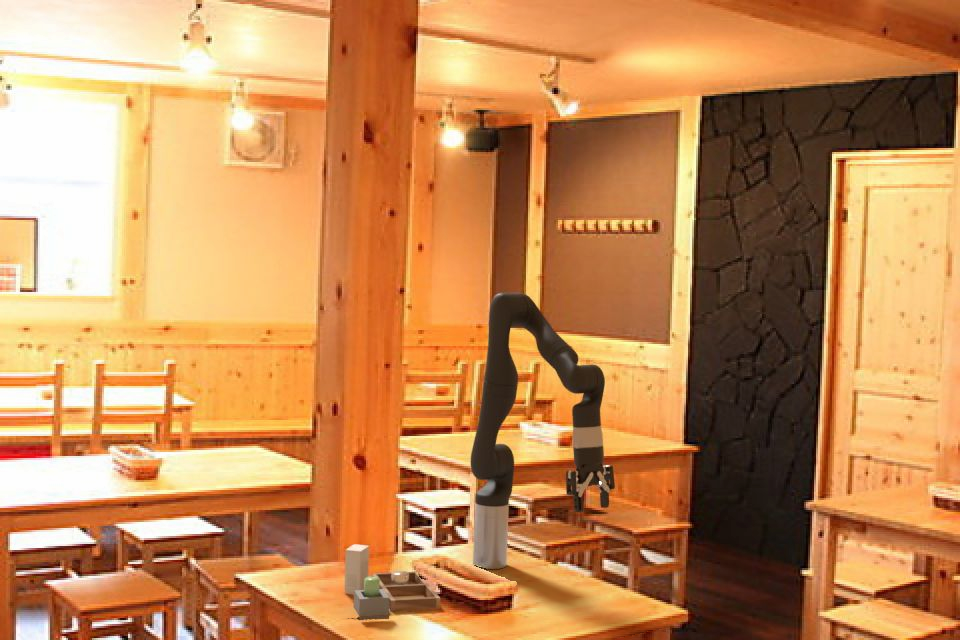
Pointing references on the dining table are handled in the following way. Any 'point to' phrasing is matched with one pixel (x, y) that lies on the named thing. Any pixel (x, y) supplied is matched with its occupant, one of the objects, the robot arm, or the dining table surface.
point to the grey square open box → (371, 605)
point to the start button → (371, 586)
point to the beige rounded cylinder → (399, 578)
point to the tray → (409, 593)
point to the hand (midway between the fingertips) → (592, 509)
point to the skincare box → (356, 567)
